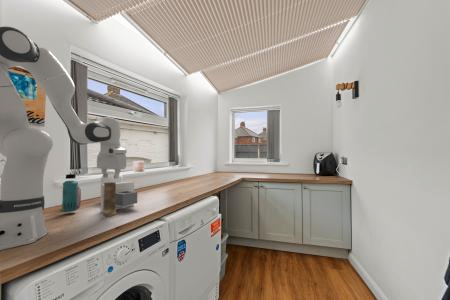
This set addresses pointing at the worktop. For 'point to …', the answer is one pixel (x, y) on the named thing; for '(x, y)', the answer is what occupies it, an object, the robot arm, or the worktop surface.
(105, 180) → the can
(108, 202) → the walnut rail
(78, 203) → the soda can
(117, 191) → the white grey blocky piece
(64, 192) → the beverage bottle
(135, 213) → the worktop surface
